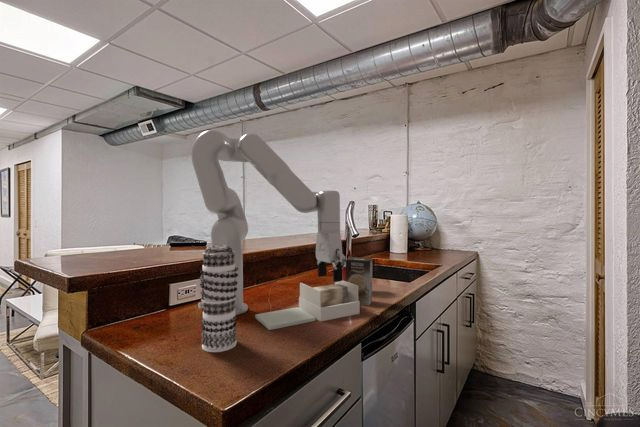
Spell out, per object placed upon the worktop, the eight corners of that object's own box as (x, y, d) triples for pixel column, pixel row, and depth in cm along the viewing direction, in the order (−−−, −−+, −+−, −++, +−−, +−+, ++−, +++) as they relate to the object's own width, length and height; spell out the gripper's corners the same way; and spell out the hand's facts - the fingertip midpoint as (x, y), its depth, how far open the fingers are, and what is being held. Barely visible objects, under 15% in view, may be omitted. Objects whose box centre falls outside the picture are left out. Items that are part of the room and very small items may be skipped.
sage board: (269, 330, 92) (269, 326, 92) (255, 317, 102) (255, 314, 102) (315, 320, 100) (315, 317, 100) (297, 310, 110) (297, 307, 110)
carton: (320, 321, 99) (320, 292, 99) (298, 308, 112) (298, 282, 112) (359, 313, 106) (359, 286, 106) (335, 302, 119) (335, 277, 119)
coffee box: (344, 303, 118) (344, 259, 117) (348, 298, 124) (348, 256, 123) (369, 306, 115) (369, 260, 114) (372, 301, 121) (373, 258, 120)
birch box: (316, 316, 104) (316, 291, 104) (309, 311, 108) (309, 287, 108) (347, 310, 110) (347, 286, 110) (339, 306, 114) (339, 283, 114)
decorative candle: (240, 349, 79) (240, 247, 79) (200, 355, 76) (199, 249, 76) (236, 335, 88) (236, 243, 88) (200, 340, 85) (199, 245, 84)
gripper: (306, 227, 114) (307, 275, 114) (333, 229, 99) (334, 285, 99) (325, 226, 118) (325, 273, 118) (353, 228, 103) (354, 282, 103)
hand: (329, 278), depth 109 cm, fingers open, 9 cm apart
